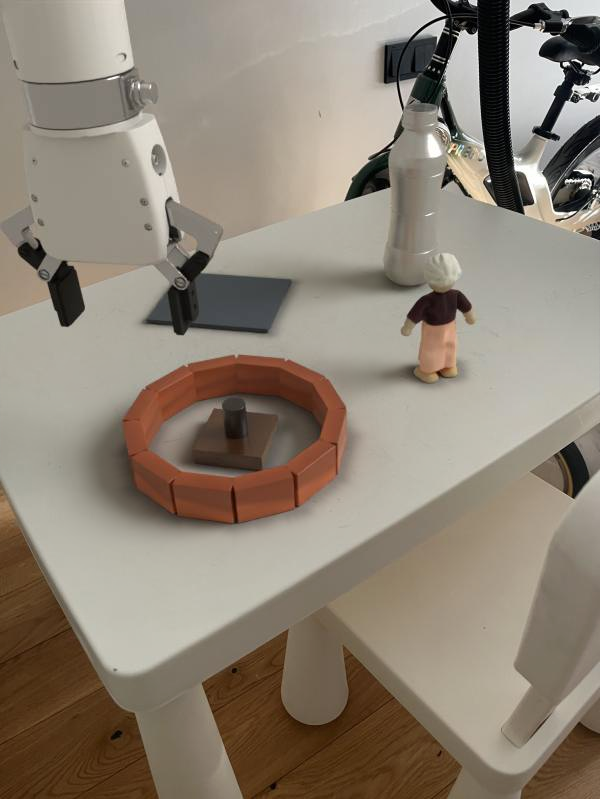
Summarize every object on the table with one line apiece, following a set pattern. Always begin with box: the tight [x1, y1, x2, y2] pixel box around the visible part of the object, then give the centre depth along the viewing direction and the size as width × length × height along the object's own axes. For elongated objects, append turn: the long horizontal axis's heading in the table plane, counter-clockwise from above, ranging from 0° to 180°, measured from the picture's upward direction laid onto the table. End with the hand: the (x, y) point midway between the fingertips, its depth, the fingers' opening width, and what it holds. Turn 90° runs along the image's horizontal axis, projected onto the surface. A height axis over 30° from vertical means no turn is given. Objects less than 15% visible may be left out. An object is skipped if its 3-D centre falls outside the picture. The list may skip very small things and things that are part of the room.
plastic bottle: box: [382, 102, 448, 286], centre depth 83 cm, size 6×7×20 cm
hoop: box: [121, 354, 348, 524], centre depth 64 cm, size 19×19×3 cm
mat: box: [146, 272, 292, 334], centre depth 86 cm, size 14×12×1 cm
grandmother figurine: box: [400, 252, 477, 384], centre depth 69 cm, size 8×4×13 cm, turn 121°
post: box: [192, 396, 280, 472], centre depth 63 cm, size 6×6×4 cm
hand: (128, 322), depth 59 cm, fingers open, 9 cm apart
